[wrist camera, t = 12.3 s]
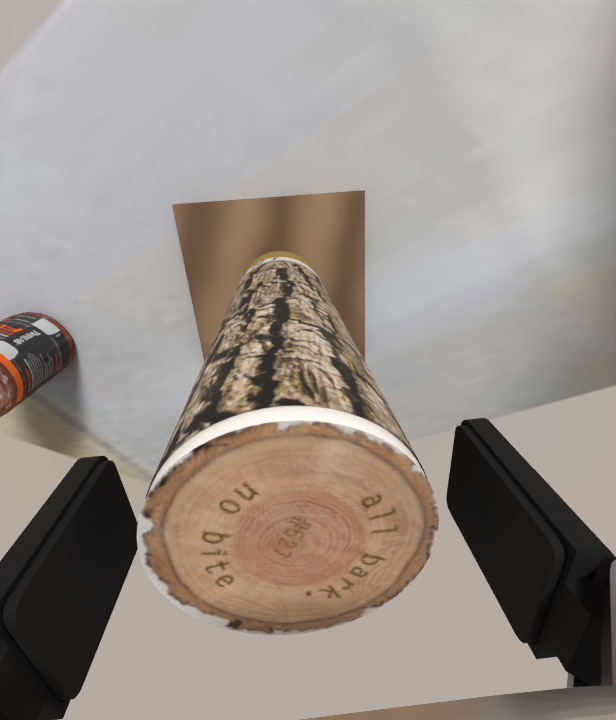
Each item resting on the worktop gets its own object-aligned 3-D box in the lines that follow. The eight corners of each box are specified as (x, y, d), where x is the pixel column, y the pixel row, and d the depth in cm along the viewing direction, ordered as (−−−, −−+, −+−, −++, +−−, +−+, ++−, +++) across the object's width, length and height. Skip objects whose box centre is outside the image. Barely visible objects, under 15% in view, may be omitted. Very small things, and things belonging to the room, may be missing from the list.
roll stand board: (360, 190, 29) (364, 190, 28) (361, 356, 36) (364, 362, 34) (177, 204, 29) (172, 204, 27) (210, 370, 35) (208, 377, 34)
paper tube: (333, 272, 31) (500, 484, 8) (298, 339, 33) (347, 655, 10) (261, 234, 29) (203, 364, 6) (228, 307, 31) (98, 602, 8)
